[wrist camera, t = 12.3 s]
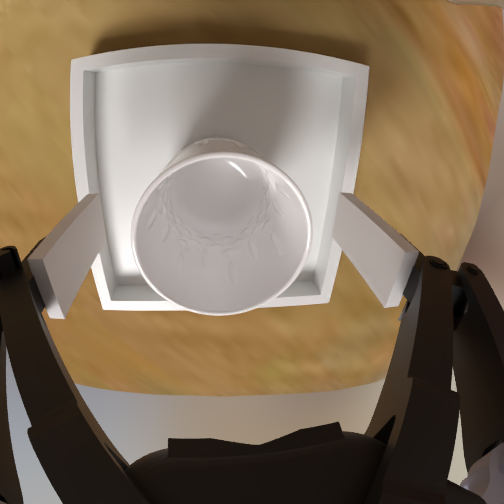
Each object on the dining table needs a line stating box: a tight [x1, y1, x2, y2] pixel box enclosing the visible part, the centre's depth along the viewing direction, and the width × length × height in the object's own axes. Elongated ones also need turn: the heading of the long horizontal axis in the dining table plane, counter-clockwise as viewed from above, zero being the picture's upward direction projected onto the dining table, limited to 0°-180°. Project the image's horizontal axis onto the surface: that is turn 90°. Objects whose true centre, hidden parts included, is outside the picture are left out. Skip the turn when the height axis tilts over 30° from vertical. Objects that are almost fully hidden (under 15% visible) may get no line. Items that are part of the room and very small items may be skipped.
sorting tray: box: [70, 44, 369, 310], centre depth 20 cm, size 20×20×3 cm
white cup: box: [131, 136, 313, 315], centre depth 16 cm, size 8×8×10 cm
